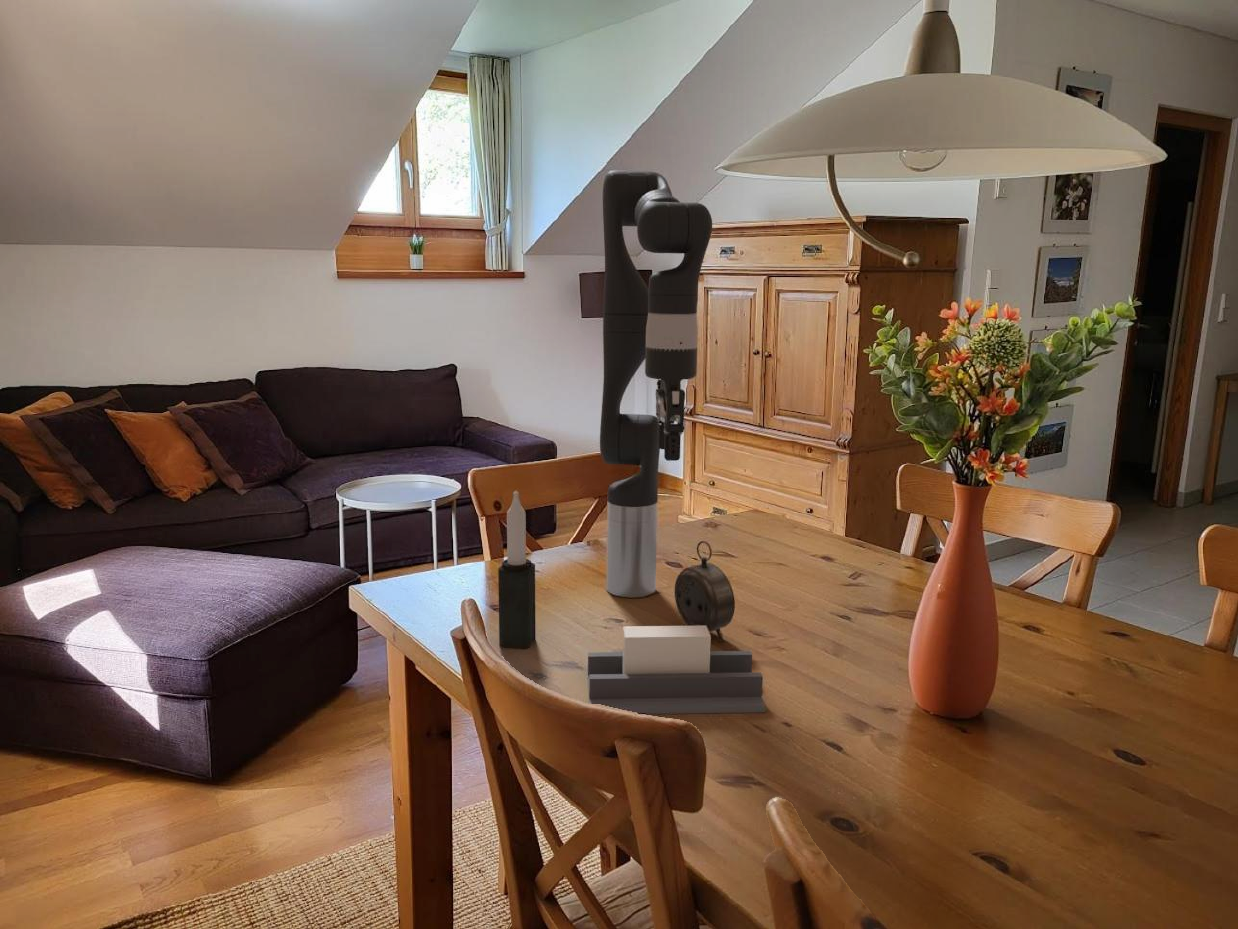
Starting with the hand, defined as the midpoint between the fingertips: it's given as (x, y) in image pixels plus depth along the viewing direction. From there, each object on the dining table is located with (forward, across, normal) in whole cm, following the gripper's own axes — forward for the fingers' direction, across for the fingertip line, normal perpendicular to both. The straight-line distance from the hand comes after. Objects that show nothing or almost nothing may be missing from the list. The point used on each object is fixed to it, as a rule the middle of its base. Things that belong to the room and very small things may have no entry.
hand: (668, 454), depth 137 cm
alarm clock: (+32, +8, -7) cm, 34 cm away
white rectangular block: (+31, -12, +1) cm, 33 cm away
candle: (+32, +6, +23) cm, 40 cm away
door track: (+32, -12, 0) cm, 34 cm away
